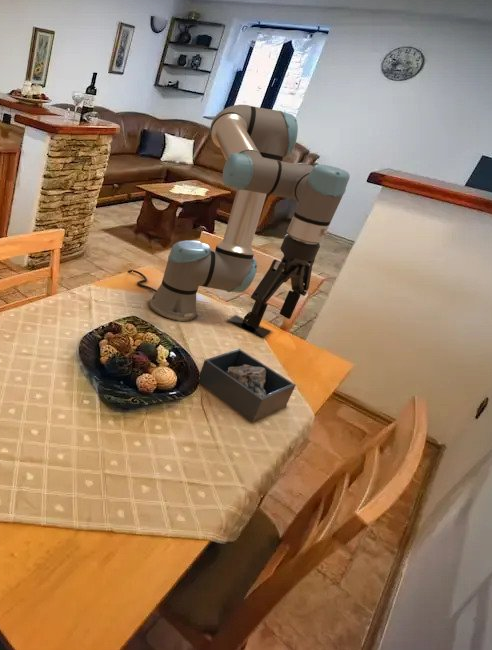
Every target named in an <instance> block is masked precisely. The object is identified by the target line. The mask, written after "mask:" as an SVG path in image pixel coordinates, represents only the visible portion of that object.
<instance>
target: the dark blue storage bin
mask: <svg viewBox="0 0 492 650" xmlns="http://www.w3.org/2000/svg"><path fill="white" fill-rule="evenodd" d="M243 364H245V365H250V366H253V367H263V368H265V370H266V374H265V375H266V377H265V379H266V382H265V384H264V390H266V395H265V396H263V397H260V396H259V395H257V394H256V393H254V392H253V391H251V390H250V389H249V388H247V387H246V386H244V385H243V384H241V383H240V382H239V381H237V380H236V379H234V378H233V377H231V376H230V375H228V374H227V372H228V368H229V367H239V366H242V365H243ZM198 377H200V379H199V382H198V383H199V384H200V385H201V386H203V387H204V388H205V389H207V390H208V391H209V392H211V393H212V394H213V395H215V396H216V397H218V398H219V399H220V400H222V401H223V402H224V403H225V404H227V405H228V406H229V407H231V409H233V410H235V411H236V412H237V413H239V414H240V415H241V416H243V417H244V418H246V419H247V420H248V421H250V422H251V423H254V422H256V421H258V420H260V419H262V418H264V417H266V416H268V415H271V414H273V413H274V412H277V411H279V410H282V409H283V408H285V407H287V405H288V402H289V400H290V398H291V396H292V394H293V392H294V390H295V388H296V383H294V382H292V381H291V380H289V379H287V378H286V377H285V376H283V375H282V374H280V373H278V372H277V371H275V370H273V369H272V368H270V367H269V366H267V364H264V363H263V362H261V361H259V360H258V359H256V358H254V357H253V356H251V354H248V353H247V352H245V351H244V350H243V349H240V348H237V349H234V350H231V351H228V352H227V351H226V352H224V353H221V354H218V355H215V356H212V357H208V358H205V359H204V361H203V364H202V367H201V368H200V372H199V375H198Z"/></svg>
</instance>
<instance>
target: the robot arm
mask: <svg viewBox="0 0 492 650" xmlns="http://www.w3.org/2000/svg"><path fill="white" fill-rule="evenodd" d="M298 130H299V126H298V121H297V118H296V117H295V115H293V114H292V113H288V112H284V111H282V110H276V109H270V108H264V107H258V106H253V105H249V104H233V105H230V106H228V107H226V108H224V109H222V110H221V111H219V112H218V113H217V114H216V115H215V117H214V118H213V119H212V121H211V123H210V128H209V133H210V137H211V140H212V142H213V144H214V145H215V146H216V147H218V148H220V151H221V153H222V155H223V157H224V159H225V163H224V166H223V170H222V183H223V185H224V186H225V187H230V188H233V189H236V192H235V195H234V200H233V203H232V207H231V210H230V214H229V217H228V220H227V225H226V228H225V232H224V236H223V239H222V241H220V242H219V243H217V244H216V246H215V249H214V250H212V249H211V247H210V245H209V244H207V243H205V242H201V241H198V240H180V241H177V242H175V243H174V244H173V245H172V246H171V249H170V251H169V254H168V255H167V256H168V257H167V262H166V265H165V270H164V272H163V277H162V280H161V284H160V285H159V287H158V288H157V289H155V288H153V287H151V286H148V285H145V284H142V283H146V282H147V281H148V278H147V277H146V276H145V275H144V274H143V273H141V272H140V271H138V270H135V269H130V270H127V273H135V274H138V275H139V276H141V277H142V278H143V279H142V280H138V281H137V285H138V286H139V287H142V288H145V289H148V290H150V291H152V292H154V293H153V296H151V298H150V302H149V307H150V308H151V310H152V311H153V312H154V313H156V314H157V315H159V316H160V317H163V318H166V319H169V320H173V321H179V322H188V321H191V320H193V319H195V317H196V315H197V312H198V310H197V309H198V308H197V293H198V289H199V287H203V288H209V289H213V290H219V291H224V292H227V293H239V294H240V293H243V292H245V291H247V290H248V289H249V287H250V286H251V285H252V283H253V281H254V279H255V276H256V274H257V270H258V269H257V268H258V261H257V259H256V258H255V251H254V250H253V249H252V245H253V241H254V238H255V234H256V231H257V228H258V224H259V221H260V218H261V214H262V211H263V207H264V204H265V201H266V198H267V195H270V196H273V197H274V196H275V197H280V198H286V199H291V200H295V201H296V202H298V203H297V205H296V208H295V211H294V213H293V216H292V218H291V220H290V222H289V224H288V228H287V230H286V233H287V234H285V235H284V237H283V240H282V243H281V246H280V252H282V254H283V256H282V258H281V260H278V259H276V258H274V259H273V260H272V262H271V264H270V266H269V268H268V270H267V271H266V272H265V274H264V276H263V277H262V279H261V280H260V281H259V283H258V285H257V286H256V288H255V290H254V291H253V293H252V294H251V296H250V299H252V300H254V303H253V306H252V308H251V311H250V312H251V313H250V316H249V318H248V321H247V324H248V325H250V326H251V327H253V328H255V329H258V327H259V326H261V322H262V320H263V318H264V315H265V313H266V310H267V308H268V306H269V303H268V301H269V300H270V299H271V298H272V296H273V295H274V294H275V293H276V292H277V291H278V289H280V287H281V286H282V285H283V284H284V283H287V282H288V281H289V280H290V284H291V290H288V292H287V295H286V296H285V299H284V302H283V303H282V306H281V309H280V311H279V313H278V314H279V315H280V316H282V317H284V318H286V319H288V320H290V319H292V316H293V313H294V311H295V309H296V307H297V305H298V302H299V300H300V298H301V296H302V297H305V296H306V295H307V291H309V288H310V282H311V276H312V271H313V265H314V263H315V260H316V257H317V255H318V253H319V250H320V247H321V244H320V243H322V242H323V240H324V238H325V236H327V235H328V233H329V231H328V229H329V227H330V225H331V222H332V220H333V218H334V216H335V214H336V211H337V209H338V207H339V205H340V203H341V200H342V199H343V197H344V195H345V193H346V189H347V186H348V183H349V180H350V178H351V177H350V173H349V172H348V171H347V170H345V169H341V168H339V167H336V166H332V165H328V164H319V163H318V164H316V165H312V164H308V163H305V162H297V163H293V162H288V161H287V162H286V161H283V159H284V158H287V157H289V156H290V155H291V154H292V153H293V150H294V149H295V146H296V143H297V140H298V133H299V132H298ZM132 271H133V272H132Z"/></svg>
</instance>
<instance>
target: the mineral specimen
mask: <svg viewBox="0 0 492 650" xmlns="http://www.w3.org/2000/svg"><path fill="white" fill-rule="evenodd" d="M227 374H228V375H230V376H231V377H233V378H234V379H236V380H237V381H239V382H240V383H241V384H243V385H244V386H246V387H247V388H249V389H250V390H251V391H253V392H254V393H256V394H257V395H259V396H260V397H263V396H265V395H266V390H264V384H265V382H266V379H265V377H266V375H265V374H266V370H265V368H263V367H253V366H250V365H245V364H243V365H242V366H239V367H229V368H228V372H227Z"/></svg>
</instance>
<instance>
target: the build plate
mask: <svg viewBox="0 0 492 650" xmlns="http://www.w3.org/2000/svg"><path fill="white" fill-rule="evenodd" d="M250 313H251V311H248V312H247V313H246V314H245V316H243V317H241V316H239V315H234V316H233V317H231V318H229V320H227V323H229V324H231V325H233V326H236V327H238V328H240V329H242V330H244V331H245V332H249V333H250V334H253V335H255V336H256V337H258V338H261V339H264V338H265V337H266V336H268V335H269V334H270V333H271V332H272V331H271V329H268V328H265V327H263V326H261V325H259V327H258V329H255V328H253V327H251V326H250V325H248V324H247V321H248V318H249V316H250Z"/></svg>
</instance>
